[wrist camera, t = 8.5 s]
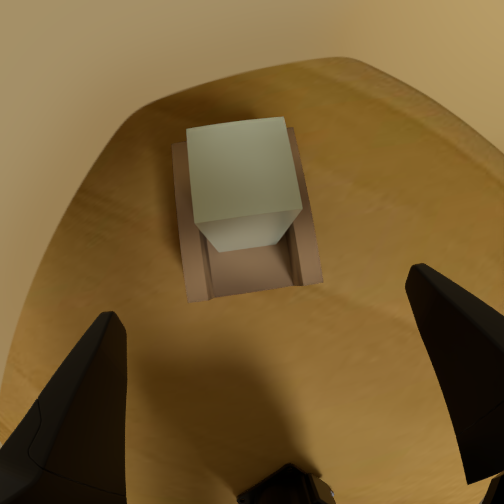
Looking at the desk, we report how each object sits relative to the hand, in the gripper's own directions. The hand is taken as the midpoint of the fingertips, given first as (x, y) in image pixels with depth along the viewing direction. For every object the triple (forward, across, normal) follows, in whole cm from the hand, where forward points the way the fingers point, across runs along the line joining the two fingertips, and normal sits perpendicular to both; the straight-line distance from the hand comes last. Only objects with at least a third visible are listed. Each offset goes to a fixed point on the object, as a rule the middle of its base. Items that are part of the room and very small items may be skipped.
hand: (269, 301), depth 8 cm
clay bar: (+12, 0, +5) cm, 13 cm away
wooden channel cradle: (+13, 0, +6) cm, 14 cm away
